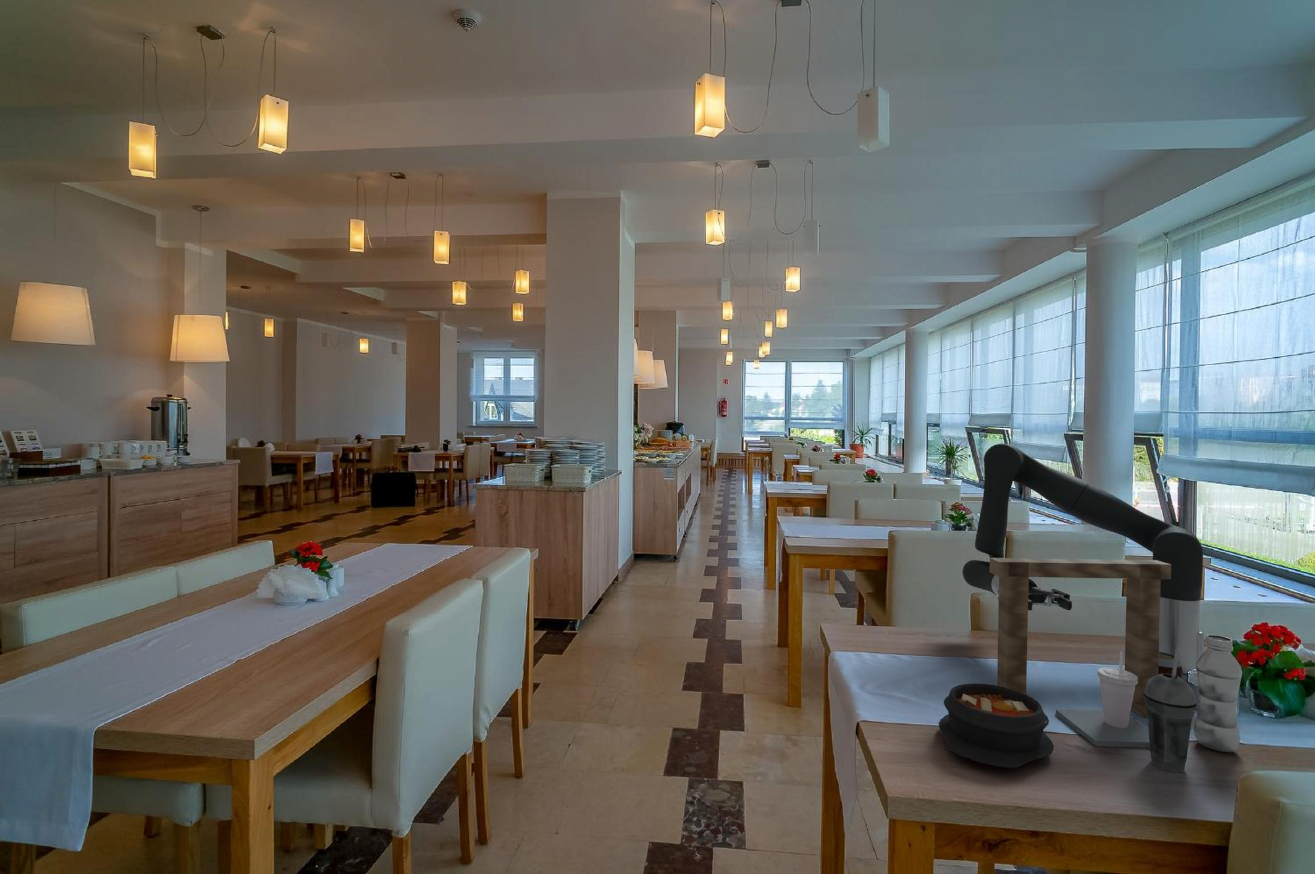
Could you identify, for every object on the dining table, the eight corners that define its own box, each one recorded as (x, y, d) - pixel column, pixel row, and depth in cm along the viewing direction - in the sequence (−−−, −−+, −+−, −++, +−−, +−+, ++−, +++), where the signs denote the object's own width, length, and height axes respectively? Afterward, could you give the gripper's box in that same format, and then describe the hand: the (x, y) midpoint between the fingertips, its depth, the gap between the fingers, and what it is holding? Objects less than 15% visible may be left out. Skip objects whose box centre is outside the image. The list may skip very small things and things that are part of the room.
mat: (1122, 715, 132) (1122, 710, 132) (1169, 748, 119) (1170, 742, 119) (1055, 714, 132) (1055, 709, 132) (1095, 746, 119) (1095, 740, 119)
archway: (1143, 697, 141) (1147, 557, 140) (1178, 718, 131) (1182, 567, 130) (980, 693, 142) (983, 554, 142) (1002, 713, 132) (1005, 565, 132)
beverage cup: (1130, 755, 116) (1133, 642, 116) (1169, 753, 117) (1172, 641, 116) (1166, 777, 109) (1169, 657, 108) (1207, 775, 110) (1210, 656, 109)
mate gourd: (1169, 686, 147) (1170, 619, 147) (1192, 701, 139) (1194, 630, 139) (1132, 684, 148) (1133, 617, 148) (1153, 698, 140) (1154, 628, 140)
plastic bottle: (1228, 742, 121) (1231, 634, 121) (1247, 760, 115) (1251, 646, 114) (1186, 736, 123) (1189, 630, 123) (1202, 753, 117) (1205, 641, 116)
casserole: (1040, 792, 105) (1041, 740, 104) (919, 755, 116) (920, 707, 116) (1063, 734, 124) (1064, 690, 124) (958, 707, 136) (958, 666, 135)
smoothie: (1143, 733, 122) (1145, 658, 122) (1104, 729, 124) (1106, 655, 123) (1127, 718, 129) (1129, 646, 128) (1090, 714, 130) (1092, 644, 130)
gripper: (984, 573, 164) (1017, 589, 148) (1043, 573, 164) (1082, 588, 148) (985, 603, 164) (1018, 622, 148) (1043, 603, 164) (1083, 622, 148)
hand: (1050, 605), depth 148 cm, fingers open, 8 cm apart
